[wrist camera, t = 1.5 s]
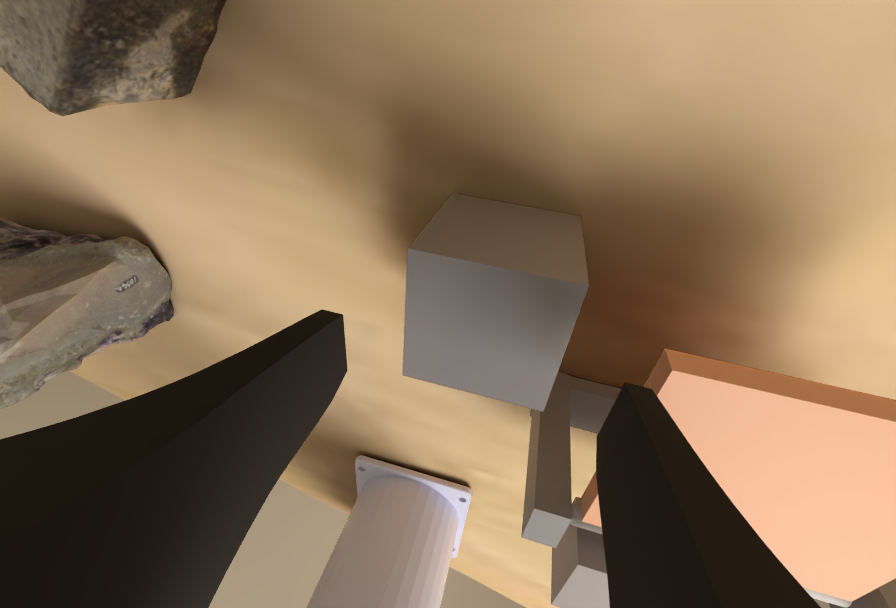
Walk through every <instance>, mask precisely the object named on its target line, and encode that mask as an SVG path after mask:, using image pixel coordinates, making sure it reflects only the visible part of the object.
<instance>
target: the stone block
mask: <svg viewBox="0 0 896 608" xmlns="http://www.w3.org/2000/svg"><path fill="white" fill-rule="evenodd" d="M225 2H226V0H0V67H1V68H2V69H3V70H5V71H6V72H7V73H8V74H9V75H10V76H11V77H12V78H13V79H14V80H15V81H16V82H17V83H19V84H20V85H21V86H22V87H23V88H24V90H25V91H26V92H27V93H28V94H29V96H30V97H32V98H33V99H35V100H36V101H38V102H40V103H41V104H42V105H44V106H45V107H46V108H47V109H48V110H49V111H50V112H53V113H56V114H58V115H61V116H66V115H70V114H74V113H78V112H82V111H86V110H89V109H93V108H97V107H101V106H105V105H113V104H123V103H132V102H142V101H152V100H163V99H174V98H178V97H182V96H184V95H187V94H189V93H191V90H192V88H193V85H194V83H195V80H196V78H197V76H198V73H199V71H200V68H201V65H202V62H203V59H204V56H205V54H206V52H207V50H208V49H209V47H210V45H211V43H212V41H213V39H214V36H215V34H216V32H217V21H218V18H219V16H220V13H221V11H222V8H223V6H224V3H225Z"/></svg>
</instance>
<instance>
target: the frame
mask: <svg viewBox="0 0 896 608" xmlns="http://www.w3.org/2000/svg"><path fill="white" fill-rule="evenodd" d="M620 391H621V388H617V387H613V386H609V385H604V384H600V383H596V382H592V381H588V380H584V379H580V378H576V377H572V376H569V374H566V373H562V372H558V373H557V376H556V378H555V381H554V384H553V387H552V389H551V392H550V395H549V398H548V400H547V403H546V406H545V409H544V411H543V412H542V411H538V410H535V409H531V412H530V416H532V419H531V431H530V443H529V455H528V466H527V478H526V490H525V501H524V513H523V525H522V536H521V538H525V539H528V540H531V541H534V542H537V543H541V544H544V545H547V546H550V547H553V548H556V547H557V545H558V543H559V541H560V540H561V538H562V536H563V534H564V533H565V531H566V529H567V527H568V526H569V524H570V522H571V520H572V503H571V454H570V426H571V427H575V428H579V429H582V430H586V431H590V432H594V433H599V432H600V430H601V428H602V426H603V424H604V422H605V420H606V418H607V416H608V414H609V412H610V410H611V408H612V406H613V405H614V403H615V401H616V399H617V397H618V395H619V393H620ZM829 605H830V607H831V608H845V607H841V606H838V605H835V604H831V603H829ZM847 608H896V578H895V579H893V580H892V581H890V582H888V583H886V584H884V585H882V586H880V587H878V588H877V589H875V590H873V591H871V592H869V593H867V594H865V595H863V596H861V597H860V598H858V599H856V600H854V601H852V603H851V605H850V606H849V607H847Z"/></svg>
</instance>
